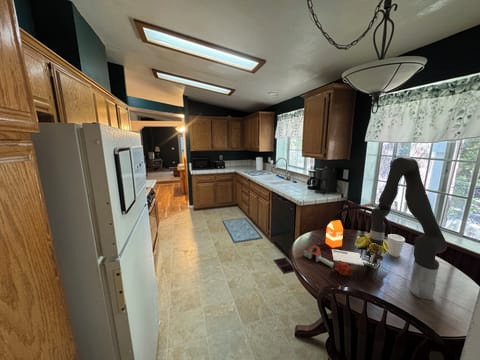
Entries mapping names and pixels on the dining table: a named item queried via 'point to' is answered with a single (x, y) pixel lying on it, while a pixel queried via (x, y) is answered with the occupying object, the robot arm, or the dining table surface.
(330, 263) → the tape dispenser
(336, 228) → the orange juice
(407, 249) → the dining table surface
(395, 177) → the robot arm
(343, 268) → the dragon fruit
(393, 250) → the foam cup
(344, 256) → the paper sheet
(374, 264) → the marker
